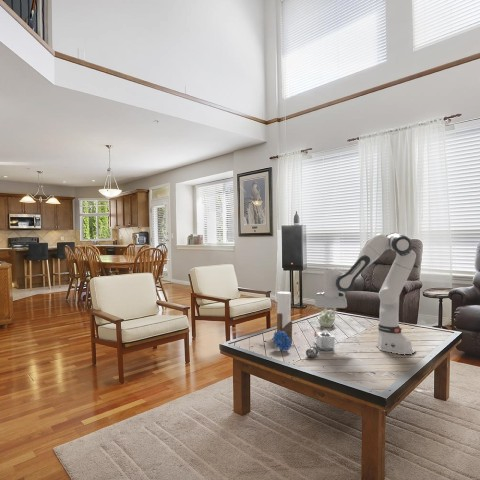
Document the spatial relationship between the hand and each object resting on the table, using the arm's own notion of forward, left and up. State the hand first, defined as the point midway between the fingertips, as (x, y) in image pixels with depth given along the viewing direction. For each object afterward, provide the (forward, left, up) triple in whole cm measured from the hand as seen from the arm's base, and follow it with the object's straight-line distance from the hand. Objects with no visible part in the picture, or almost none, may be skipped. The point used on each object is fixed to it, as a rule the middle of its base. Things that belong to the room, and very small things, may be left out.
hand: (330, 314), depth 225 cm
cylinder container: (+34, +8, -19) cm, 40 cm away
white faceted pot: (-3, +9, -19) cm, 22 cm away
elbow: (+1, +7, -18) cm, 19 cm away
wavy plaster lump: (+30, -36, -19) cm, 50 cm away
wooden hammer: (+22, +20, -19) cm, 35 cm away
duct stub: (-8, +27, -19) cm, 34 cm away
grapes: (+10, +34, -19) cm, 41 cm away
